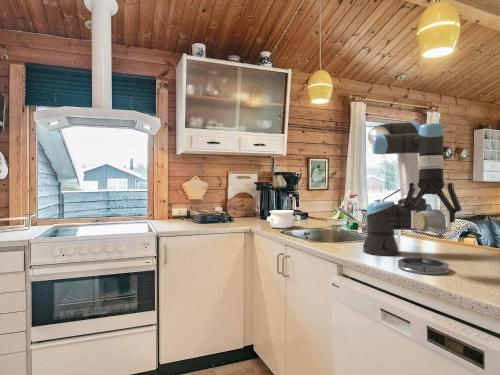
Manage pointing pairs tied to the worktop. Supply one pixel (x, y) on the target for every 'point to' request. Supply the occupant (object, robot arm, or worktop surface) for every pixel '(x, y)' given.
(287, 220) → the pot
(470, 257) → the worktop surface
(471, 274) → the worktop surface
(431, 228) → the ceramic mug
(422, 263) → the ring plate
